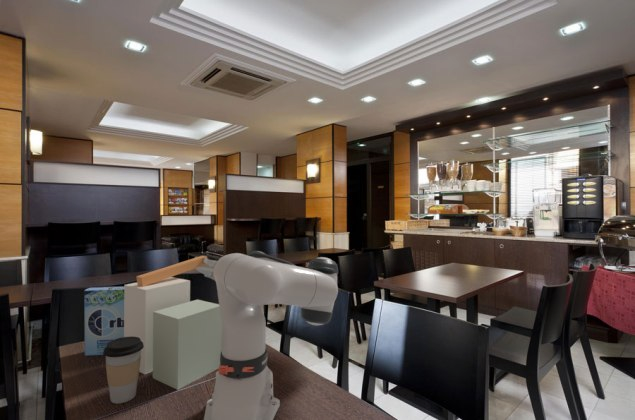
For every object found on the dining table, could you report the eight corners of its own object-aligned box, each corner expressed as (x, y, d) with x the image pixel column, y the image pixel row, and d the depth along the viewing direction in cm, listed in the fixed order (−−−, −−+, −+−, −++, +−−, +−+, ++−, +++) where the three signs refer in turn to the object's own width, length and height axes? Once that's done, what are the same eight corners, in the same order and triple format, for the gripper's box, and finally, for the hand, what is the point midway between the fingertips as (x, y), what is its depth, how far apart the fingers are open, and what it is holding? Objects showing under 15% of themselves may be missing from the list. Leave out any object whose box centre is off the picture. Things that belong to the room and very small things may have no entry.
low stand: (196, 357, 113) (197, 299, 113) (221, 367, 107) (222, 305, 107) (152, 378, 99) (153, 311, 99) (177, 389, 93) (178, 319, 93)
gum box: (148, 347, 121) (149, 285, 121) (143, 353, 116) (144, 288, 116) (91, 350, 118) (91, 286, 118) (83, 356, 113) (83, 289, 113)
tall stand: (168, 347, 121) (168, 276, 121) (189, 355, 115) (190, 280, 115) (123, 364, 108) (124, 284, 108) (144, 374, 101) (145, 289, 101)
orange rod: (202, 263, 129) (201, 255, 128) (207, 263, 127) (207, 256, 127) (137, 285, 107) (136, 276, 107) (142, 286, 105) (141, 277, 105)
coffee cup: (117, 387, 94) (117, 334, 94) (150, 388, 94) (150, 335, 94) (94, 407, 84) (94, 348, 84) (130, 408, 84) (130, 349, 84)
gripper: (238, 282, 129) (214, 269, 119) (203, 276, 140) (179, 264, 130) (244, 267, 132) (221, 253, 122) (209, 262, 143) (186, 249, 132)
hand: (199, 259), depth 126 cm, fingers closed on orange rod, 3 cm apart
